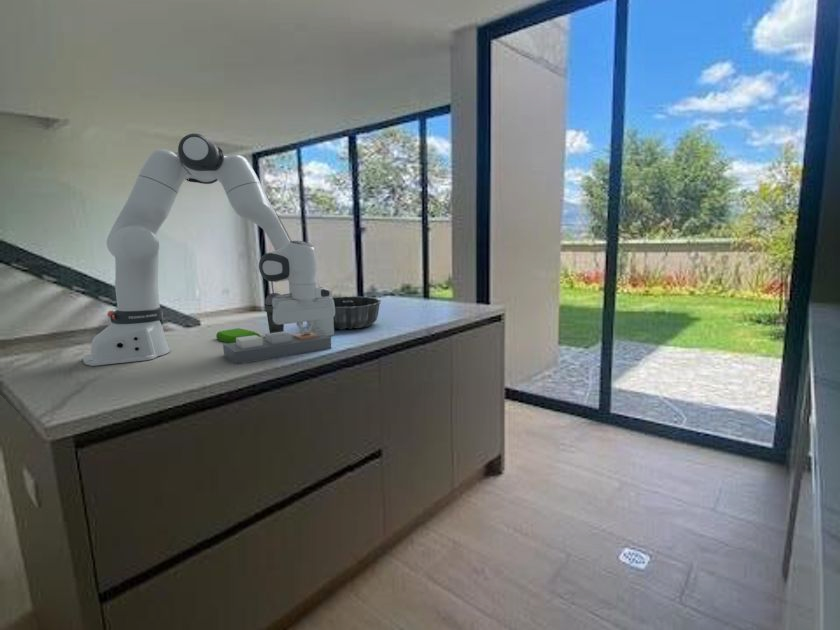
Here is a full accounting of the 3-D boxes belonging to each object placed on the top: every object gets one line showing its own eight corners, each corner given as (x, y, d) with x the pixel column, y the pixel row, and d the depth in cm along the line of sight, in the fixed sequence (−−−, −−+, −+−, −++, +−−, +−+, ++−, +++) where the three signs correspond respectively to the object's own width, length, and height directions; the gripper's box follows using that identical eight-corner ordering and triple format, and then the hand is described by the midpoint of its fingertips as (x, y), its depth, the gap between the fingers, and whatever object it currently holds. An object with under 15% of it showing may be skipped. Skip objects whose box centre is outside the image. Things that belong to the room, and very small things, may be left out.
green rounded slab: (241, 335, 174) (281, 346, 159) (213, 340, 166) (252, 352, 151) (241, 327, 174) (281, 337, 158) (212, 332, 165) (251, 343, 150)
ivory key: (242, 351, 138) (242, 341, 138) (236, 347, 143) (235, 337, 142) (263, 348, 142) (262, 338, 141) (256, 344, 147) (255, 335, 146)
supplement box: (316, 338, 167) (314, 303, 164) (306, 334, 172) (305, 300, 170) (334, 335, 171) (333, 301, 169) (324, 332, 177) (323, 298, 175)
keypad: (236, 363, 135) (235, 352, 134) (223, 355, 144) (223, 344, 143) (331, 348, 153) (330, 337, 152) (315, 341, 162) (314, 331, 161)
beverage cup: (274, 338, 166) (271, 282, 163) (262, 336, 170) (258, 280, 167) (291, 335, 172) (288, 280, 168) (279, 332, 176) (276, 279, 173)
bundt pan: (371, 333, 175) (371, 306, 173) (304, 331, 179) (303, 305, 177) (387, 320, 201) (387, 297, 199) (328, 318, 205) (327, 295, 203)
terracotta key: (301, 347, 149) (300, 337, 149) (293, 343, 154) (292, 334, 153) (318, 344, 153) (318, 335, 152) (310, 340, 158) (310, 332, 157)
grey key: (272, 346, 144) (272, 337, 143) (265, 343, 148) (265, 333, 148) (291, 343, 147) (291, 334, 147) (284, 340, 152) (283, 331, 151)
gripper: (275, 296, 142) (278, 341, 144) (336, 290, 154) (338, 332, 157) (268, 294, 147) (270, 337, 149) (327, 289, 159) (329, 329, 162)
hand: (305, 334), depth 153 cm, fingers closed, pressing on terracotta key
